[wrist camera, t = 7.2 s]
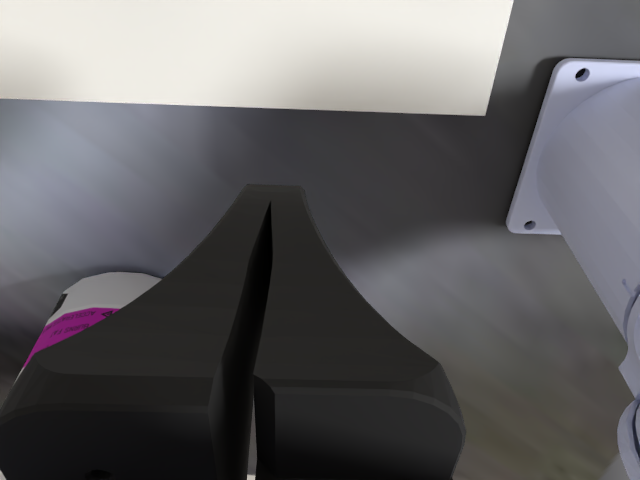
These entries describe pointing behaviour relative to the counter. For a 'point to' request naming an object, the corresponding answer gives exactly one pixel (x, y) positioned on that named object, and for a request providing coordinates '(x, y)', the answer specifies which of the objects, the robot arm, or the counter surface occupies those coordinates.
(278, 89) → the panel
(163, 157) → the counter surface
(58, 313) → the supplement can
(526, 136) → the counter surface
